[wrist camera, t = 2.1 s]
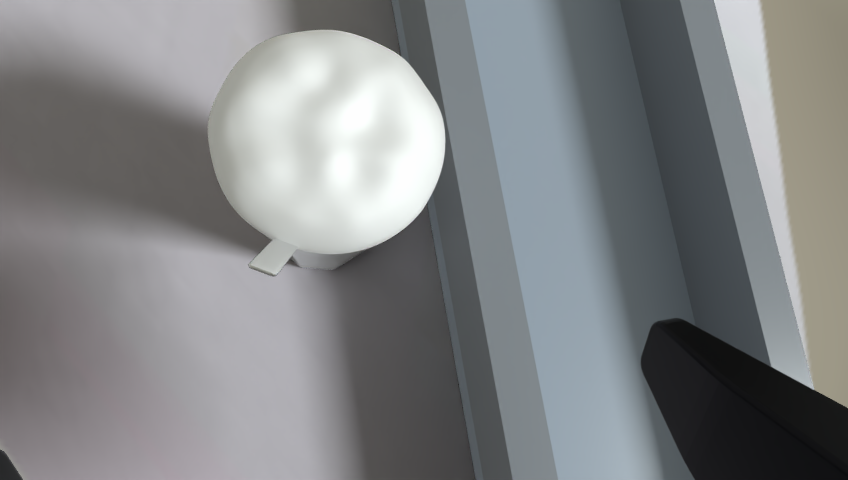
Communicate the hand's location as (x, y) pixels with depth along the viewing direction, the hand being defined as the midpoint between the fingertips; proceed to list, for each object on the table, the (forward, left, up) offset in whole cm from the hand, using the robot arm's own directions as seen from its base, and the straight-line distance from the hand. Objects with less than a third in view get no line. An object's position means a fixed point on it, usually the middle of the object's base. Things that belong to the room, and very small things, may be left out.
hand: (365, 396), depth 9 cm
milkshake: (+4, 0, -11) cm, 12 cm away
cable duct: (+2, -9, -11) cm, 14 cm away
